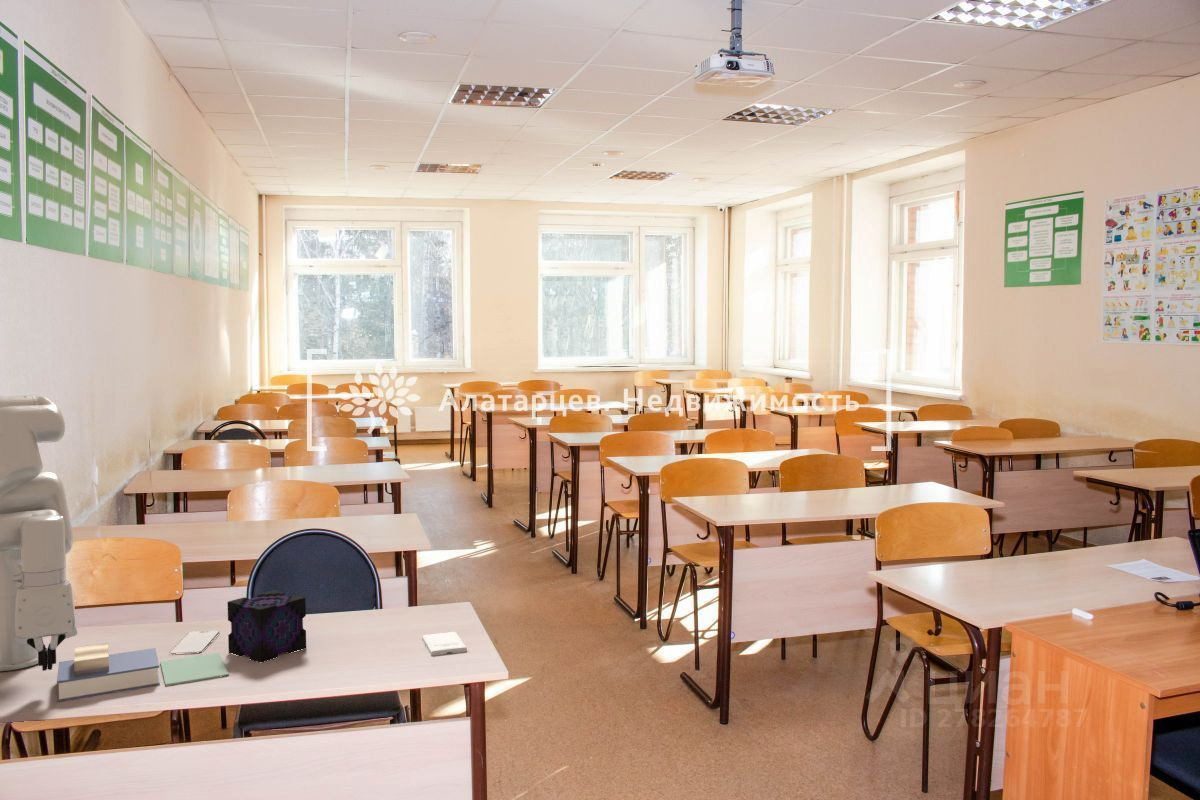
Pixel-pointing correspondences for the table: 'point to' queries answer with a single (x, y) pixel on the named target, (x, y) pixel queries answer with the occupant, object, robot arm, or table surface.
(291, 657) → the table surface
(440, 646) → the external hard drive
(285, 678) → the table surface
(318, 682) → the table surface
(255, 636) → the energy cube
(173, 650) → the smartphone
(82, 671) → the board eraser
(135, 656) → the textbook
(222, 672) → the mat
